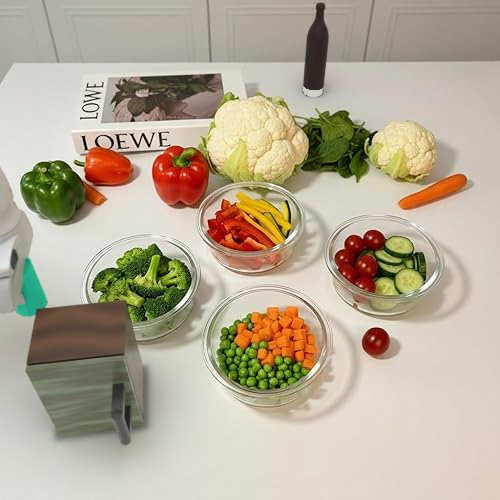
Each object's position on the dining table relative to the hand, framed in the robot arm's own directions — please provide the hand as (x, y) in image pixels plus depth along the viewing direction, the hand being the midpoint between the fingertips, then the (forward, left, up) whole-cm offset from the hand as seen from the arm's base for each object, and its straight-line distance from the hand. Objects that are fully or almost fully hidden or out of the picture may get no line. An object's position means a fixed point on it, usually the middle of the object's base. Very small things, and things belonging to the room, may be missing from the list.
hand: (24, 288), depth 100 cm
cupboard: (+12, -14, -18) cm, 26 cm away
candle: (0, 0, -5) cm, 5 cm away
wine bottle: (+76, +95, -18) cm, 123 cm away
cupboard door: (+12, -24, -18) cm, 32 cm away
